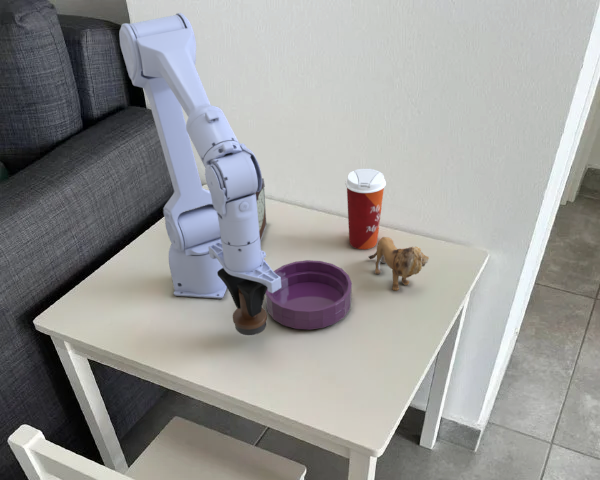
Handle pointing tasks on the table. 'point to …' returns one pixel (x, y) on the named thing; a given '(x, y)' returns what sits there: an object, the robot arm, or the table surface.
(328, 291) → the bowl
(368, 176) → the paper cup
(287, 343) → the table surface
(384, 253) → the lion figurine
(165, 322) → the table surface
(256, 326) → the brown stamp
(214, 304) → the table surface
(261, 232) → the food container
